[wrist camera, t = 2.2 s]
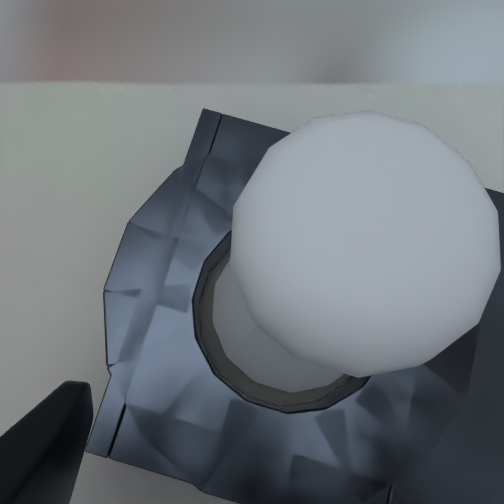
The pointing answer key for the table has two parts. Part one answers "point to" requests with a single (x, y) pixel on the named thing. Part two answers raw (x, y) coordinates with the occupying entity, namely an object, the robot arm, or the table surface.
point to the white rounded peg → (354, 253)
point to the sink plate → (266, 414)
